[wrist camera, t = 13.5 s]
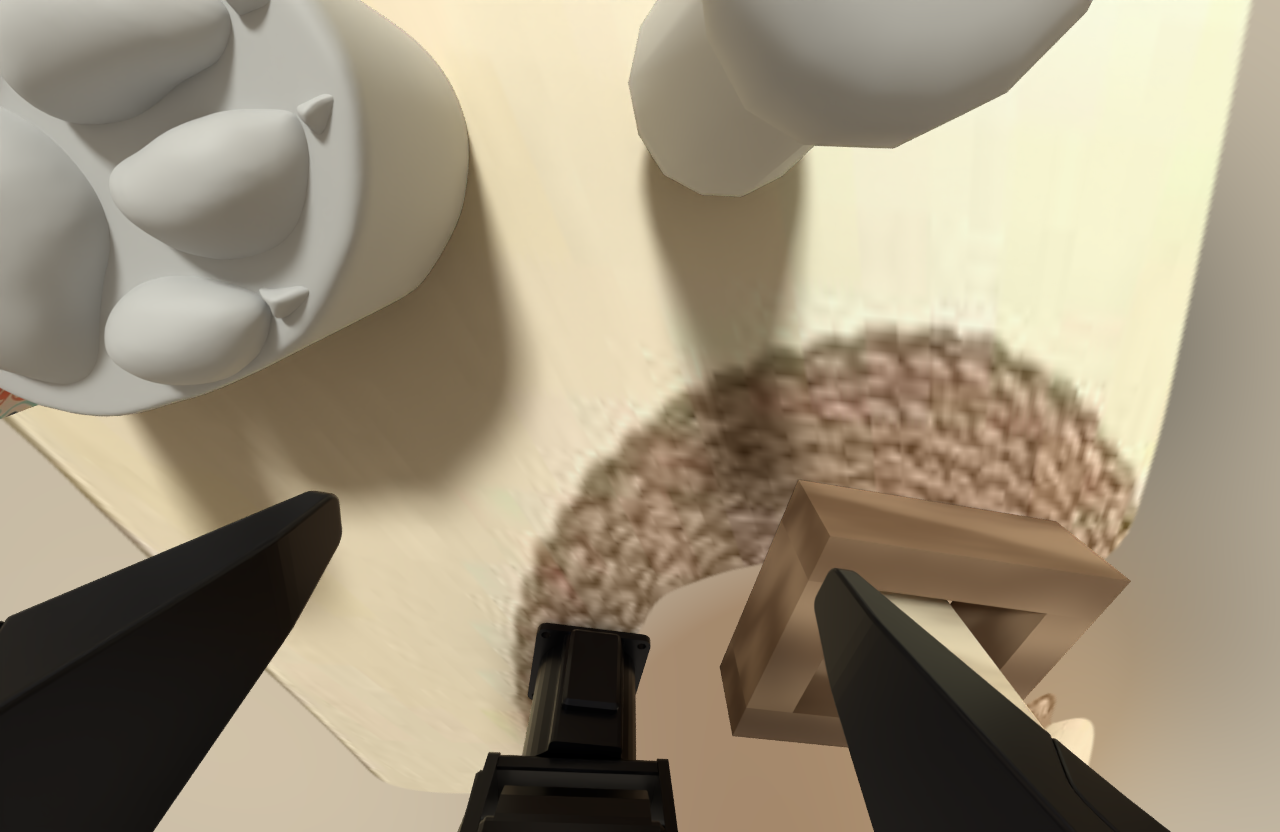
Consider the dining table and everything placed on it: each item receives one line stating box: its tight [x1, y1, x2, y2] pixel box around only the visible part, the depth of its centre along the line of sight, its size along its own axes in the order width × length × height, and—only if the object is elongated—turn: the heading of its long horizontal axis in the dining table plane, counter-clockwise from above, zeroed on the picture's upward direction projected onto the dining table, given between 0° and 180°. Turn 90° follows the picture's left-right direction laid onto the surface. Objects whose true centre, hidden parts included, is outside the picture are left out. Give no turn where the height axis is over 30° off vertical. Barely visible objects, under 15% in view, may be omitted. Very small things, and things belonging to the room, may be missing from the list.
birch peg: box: [878, 590, 1044, 729], centre depth 22 cm, size 4×4×10 cm
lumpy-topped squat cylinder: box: [0, 0, 469, 416], centre depth 12 cm, size 10×13×9 cm
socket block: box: [720, 480, 1131, 747], centre depth 24 cm, size 14×14×4 cm
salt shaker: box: [628, 0, 1092, 197], centre depth 10 cm, size 6×6×13 cm
